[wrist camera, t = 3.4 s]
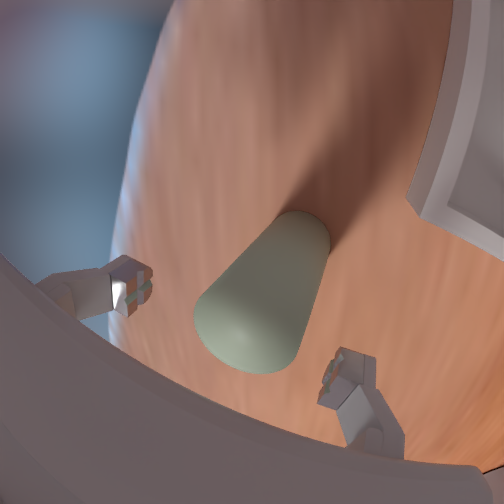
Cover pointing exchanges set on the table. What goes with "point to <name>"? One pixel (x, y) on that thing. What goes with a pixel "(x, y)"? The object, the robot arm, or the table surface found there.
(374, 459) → the robot arm
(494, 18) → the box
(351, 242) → the table surface
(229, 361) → the peg
